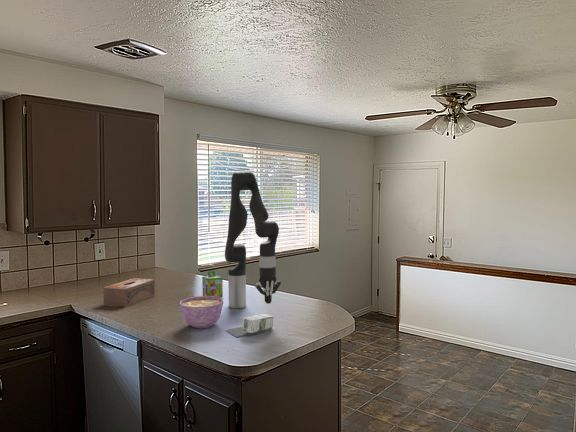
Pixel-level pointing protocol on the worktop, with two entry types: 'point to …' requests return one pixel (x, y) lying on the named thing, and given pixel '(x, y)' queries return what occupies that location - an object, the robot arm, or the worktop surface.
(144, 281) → the tissue box cover
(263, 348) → the worktop surface
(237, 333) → the mat
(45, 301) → the worktop surface
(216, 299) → the bowl of food
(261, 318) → the syrup box
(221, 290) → the green juice carton
